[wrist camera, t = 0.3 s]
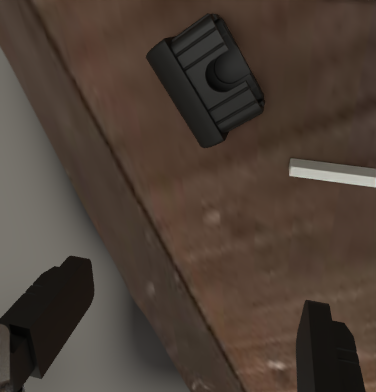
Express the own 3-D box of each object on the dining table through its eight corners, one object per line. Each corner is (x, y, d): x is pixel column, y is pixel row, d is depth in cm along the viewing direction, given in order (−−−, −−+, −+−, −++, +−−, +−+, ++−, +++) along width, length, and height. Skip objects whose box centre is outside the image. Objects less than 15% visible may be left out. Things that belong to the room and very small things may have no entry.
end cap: (158, 52, 37) (135, 59, 31) (217, 9, 34) (204, 8, 28) (209, 135, 39) (196, 156, 33) (268, 102, 36) (265, 119, 30)
